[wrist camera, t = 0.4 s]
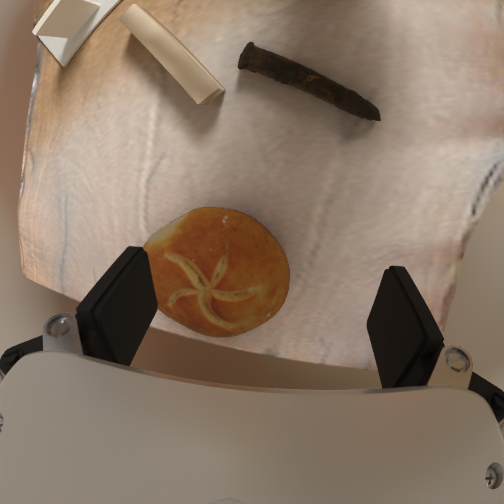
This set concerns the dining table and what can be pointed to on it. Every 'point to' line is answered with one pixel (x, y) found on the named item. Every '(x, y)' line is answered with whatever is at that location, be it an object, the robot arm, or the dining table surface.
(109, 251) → the dining table surface
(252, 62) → the rusty brown spike
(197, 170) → the dining table surface
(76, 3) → the tile
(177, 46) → the beige long bar
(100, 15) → the mat
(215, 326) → the bread
